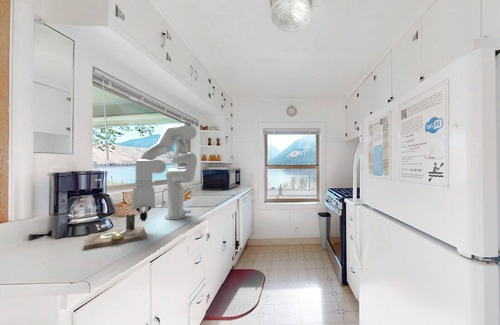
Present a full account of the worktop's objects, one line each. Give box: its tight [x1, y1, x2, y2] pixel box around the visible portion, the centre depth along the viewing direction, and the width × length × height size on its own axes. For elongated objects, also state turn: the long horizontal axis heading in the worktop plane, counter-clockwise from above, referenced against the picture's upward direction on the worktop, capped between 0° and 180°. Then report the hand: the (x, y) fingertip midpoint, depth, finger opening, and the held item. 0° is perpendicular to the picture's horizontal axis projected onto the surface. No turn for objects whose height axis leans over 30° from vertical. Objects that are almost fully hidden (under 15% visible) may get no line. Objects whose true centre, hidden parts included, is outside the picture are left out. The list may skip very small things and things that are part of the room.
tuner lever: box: [112, 213, 136, 240], centre depth 93 cm, size 16×4×7 cm, turn 8°
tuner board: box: [83, 226, 148, 250], centre depth 92 cm, size 22×16×2 cm
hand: (143, 220), depth 102 cm, fingers closed
